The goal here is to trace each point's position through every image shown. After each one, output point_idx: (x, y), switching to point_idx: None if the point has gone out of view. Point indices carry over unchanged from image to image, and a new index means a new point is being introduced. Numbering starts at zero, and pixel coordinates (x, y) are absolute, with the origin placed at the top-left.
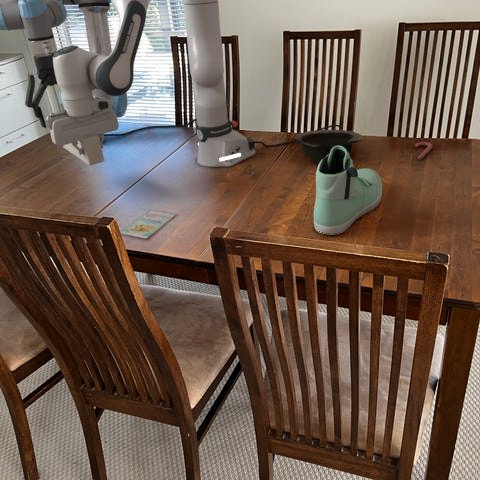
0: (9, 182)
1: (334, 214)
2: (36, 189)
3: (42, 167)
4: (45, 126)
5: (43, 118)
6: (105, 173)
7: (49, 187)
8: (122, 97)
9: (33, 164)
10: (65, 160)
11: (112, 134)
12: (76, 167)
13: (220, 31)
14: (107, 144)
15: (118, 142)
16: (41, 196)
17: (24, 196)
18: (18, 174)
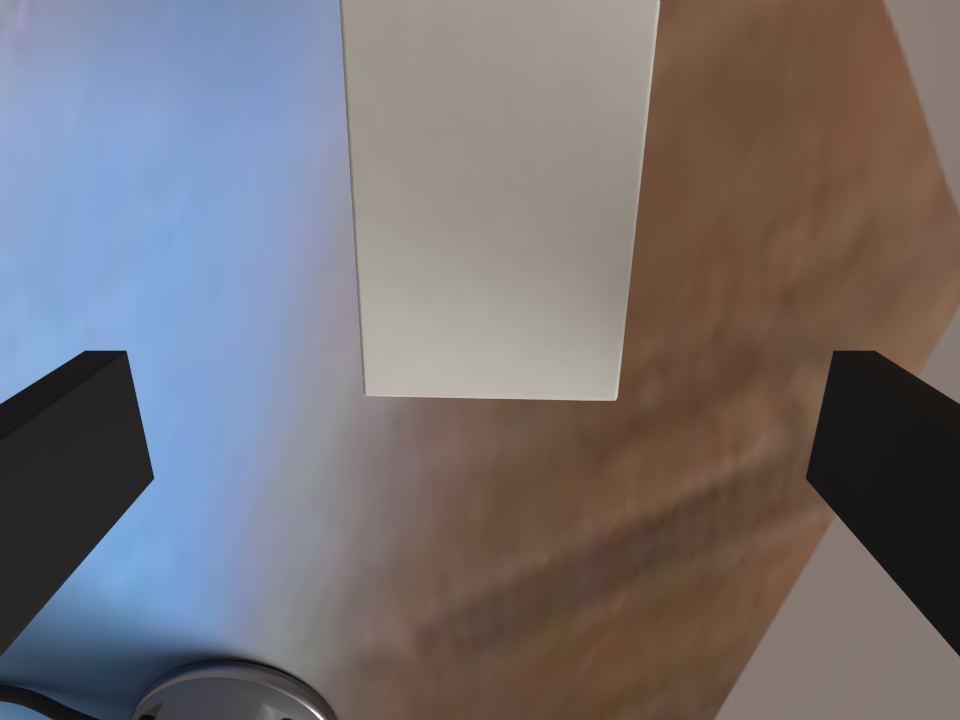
0: (792, 538)
1: None
2: (744, 323)
3: (564, 599)
4: (861, 356)
5: (953, 428)
6: (295, 219)
7: (673, 289)
8: None
9: (581, 668)
10: (423, 599)
11: (64, 716)
12: (412, 460)
13: None
14: (135, 641)
15: (67, 624)
16: (781, 185)
17: (848, 275)
18: (703, 603)
